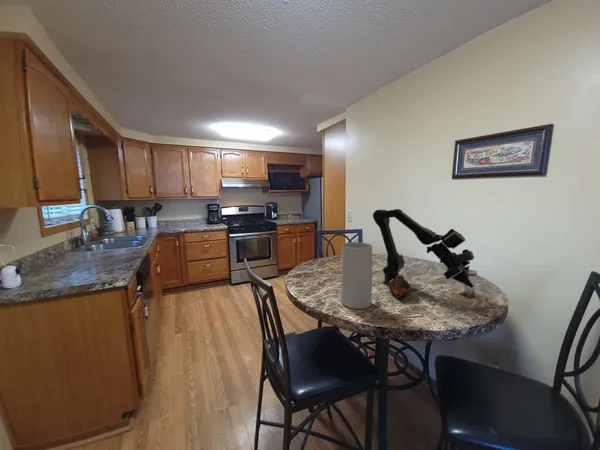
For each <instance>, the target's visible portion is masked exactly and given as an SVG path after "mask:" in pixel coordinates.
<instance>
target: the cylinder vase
mask: <svg viewBox="0 0 600 450" xmlns="http://www.w3.org/2000/svg"><path fill="white" fill-rule="evenodd" d="M340 248H341V249H340V251H341V252H340V253H341V254H340V256H341V257H340V262H341V263H340V268H341V269H340V274H341V275H340V276H341V277H340V279H341V280H340V285H341V286H340V289H341V290H340V302H341V304H342V305H343V306H345V307H347V308H350V309H354V310H363V309H367V308H369V307H370V306H371V305H372V295H373V294H372V293H373V291H372V290H373V289H372V287H373V285H372V283H373V282H372V281H373V244H370V243H367V242H365V243H364V242H344V243H342V244H341V247H340Z"/></svg>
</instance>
